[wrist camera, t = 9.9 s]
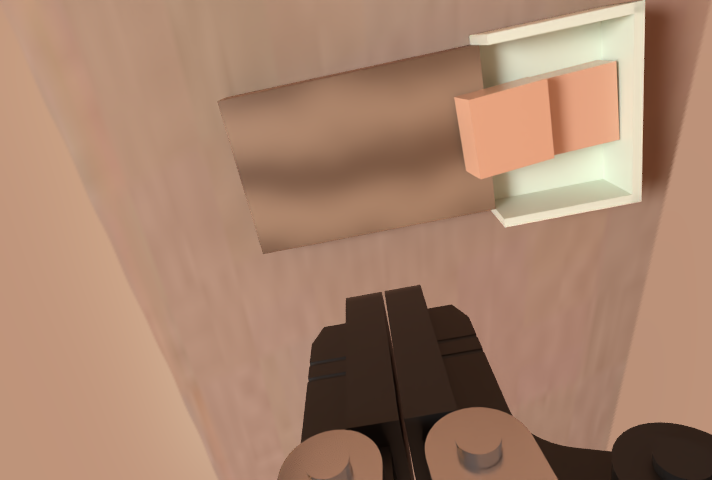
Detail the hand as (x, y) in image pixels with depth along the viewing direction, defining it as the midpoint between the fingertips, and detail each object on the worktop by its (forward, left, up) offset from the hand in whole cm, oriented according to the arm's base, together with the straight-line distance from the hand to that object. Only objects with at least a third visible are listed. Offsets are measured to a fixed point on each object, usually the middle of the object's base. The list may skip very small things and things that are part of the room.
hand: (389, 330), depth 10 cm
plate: (+2, 0, -27) cm, 27 cm away
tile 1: (+1, +9, -24) cm, 26 cm away
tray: (+2, +13, -27) cm, 30 cm away
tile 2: (+2, +14, -26) cm, 30 cm away
